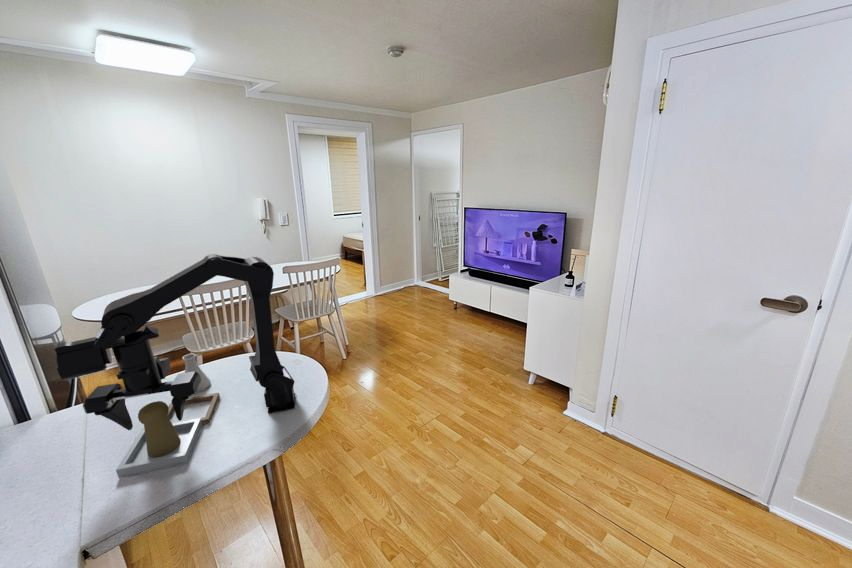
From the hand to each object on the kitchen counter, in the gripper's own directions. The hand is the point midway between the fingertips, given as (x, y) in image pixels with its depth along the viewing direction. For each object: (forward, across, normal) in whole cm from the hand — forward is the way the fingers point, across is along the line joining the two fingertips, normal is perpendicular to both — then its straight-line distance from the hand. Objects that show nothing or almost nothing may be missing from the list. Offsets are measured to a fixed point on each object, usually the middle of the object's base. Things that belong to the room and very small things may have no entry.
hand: (156, 423), depth 75 cm
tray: (+7, 0, 0) cm, 7 cm away
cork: (+7, 0, 0) cm, 7 cm away
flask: (+7, 0, -24) cm, 26 cm away
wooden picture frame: (+7, -2, -12) cm, 14 cm away
